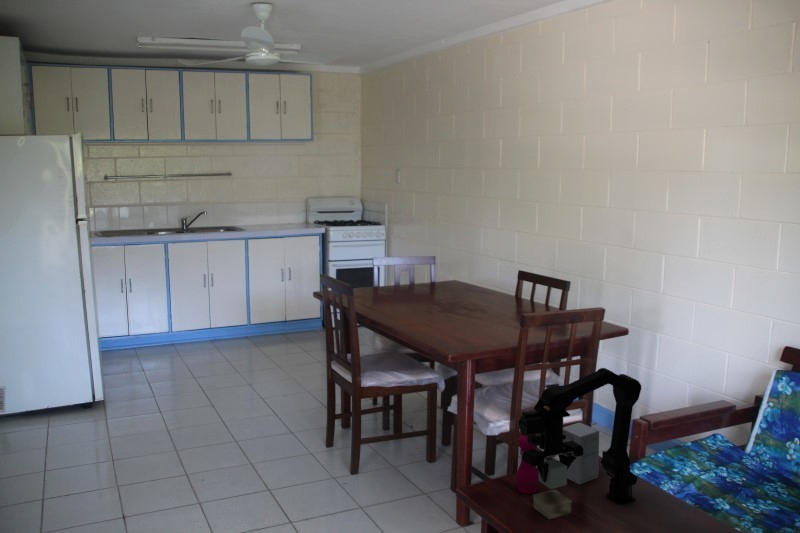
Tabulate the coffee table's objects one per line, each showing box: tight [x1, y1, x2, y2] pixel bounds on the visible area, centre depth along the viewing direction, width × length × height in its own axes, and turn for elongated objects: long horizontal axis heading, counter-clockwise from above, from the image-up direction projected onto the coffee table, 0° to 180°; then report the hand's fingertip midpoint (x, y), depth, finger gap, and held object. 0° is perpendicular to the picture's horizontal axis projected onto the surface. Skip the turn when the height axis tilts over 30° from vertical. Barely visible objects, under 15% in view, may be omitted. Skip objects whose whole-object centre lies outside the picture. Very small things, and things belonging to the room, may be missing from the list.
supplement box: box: [563, 422, 600, 485], centre depth 226 cm, size 10×9×17 cm
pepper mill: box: [515, 435, 539, 495], centre depth 217 cm, size 7×7×20 cm
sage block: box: [538, 458, 568, 490], centre depth 203 cm, size 6×6×6 cm
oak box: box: [532, 489, 573, 520], centre depth 205 cm, size 8×8×4 cm
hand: (552, 479), depth 203 cm, fingers closed on sage block, 6 cm apart
